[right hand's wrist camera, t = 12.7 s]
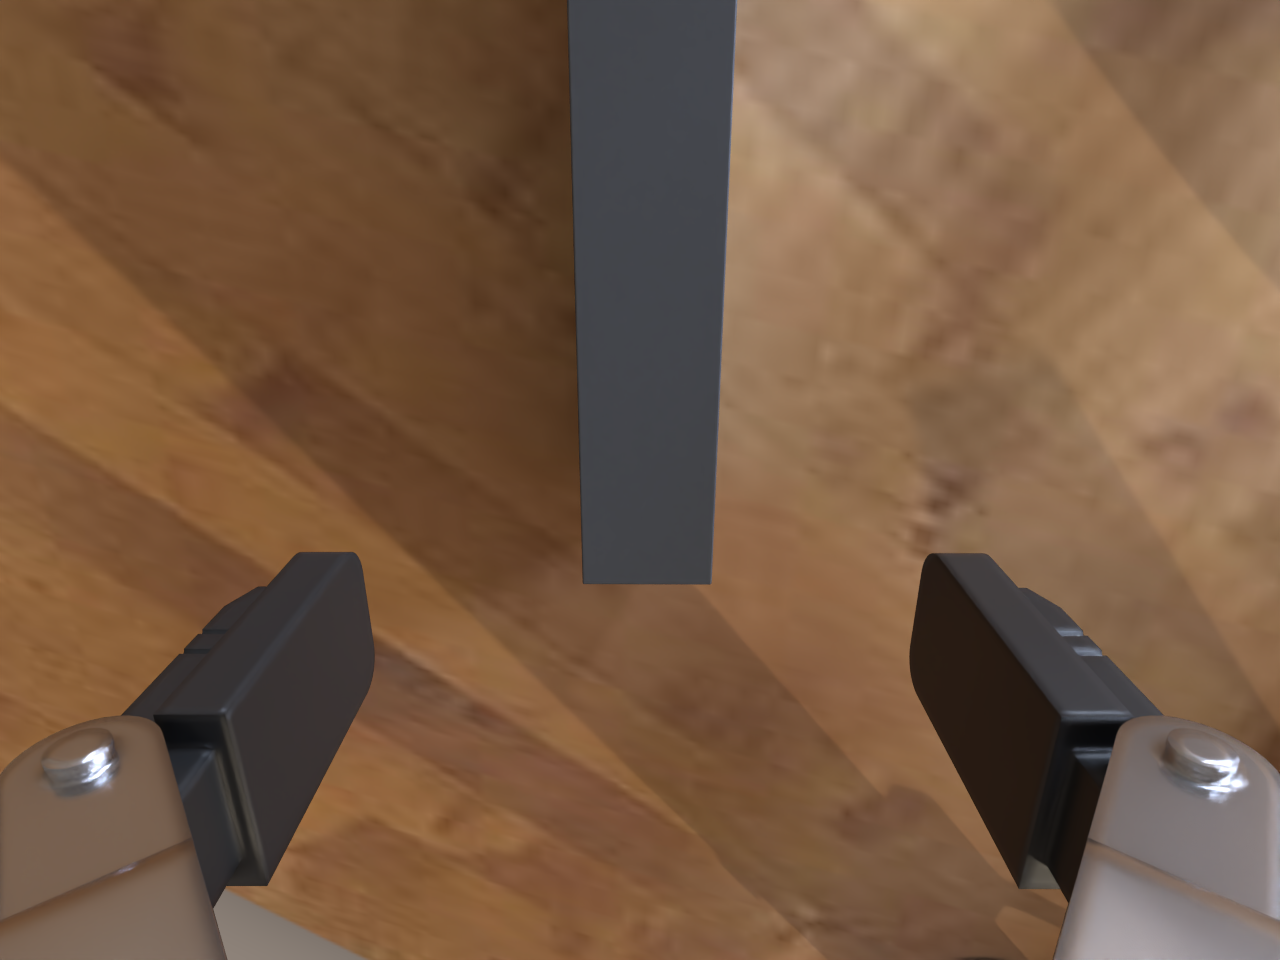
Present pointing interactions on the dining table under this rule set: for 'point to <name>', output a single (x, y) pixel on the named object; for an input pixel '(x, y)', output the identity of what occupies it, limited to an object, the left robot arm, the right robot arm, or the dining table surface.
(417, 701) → the dining table surface
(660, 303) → the bar
